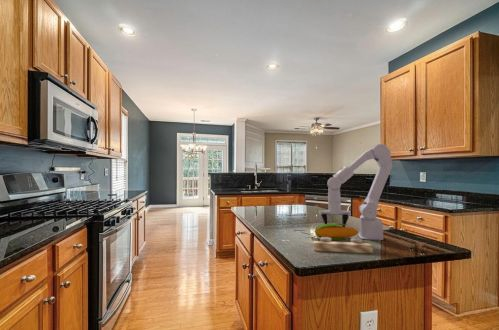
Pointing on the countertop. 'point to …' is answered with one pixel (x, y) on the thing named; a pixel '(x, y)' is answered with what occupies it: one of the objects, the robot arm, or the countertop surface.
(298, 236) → the countertop surface
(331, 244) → the boss rack
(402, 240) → the countertop surface
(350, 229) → the corn
